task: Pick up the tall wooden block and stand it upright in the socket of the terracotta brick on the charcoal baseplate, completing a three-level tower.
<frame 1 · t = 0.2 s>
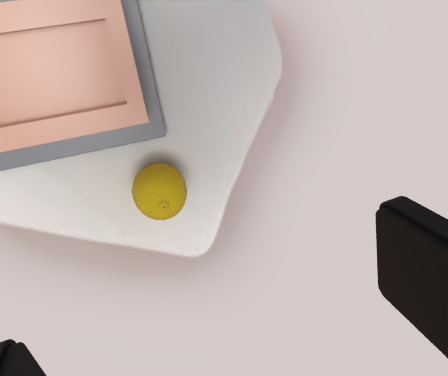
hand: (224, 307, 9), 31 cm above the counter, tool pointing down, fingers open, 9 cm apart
baseplate: (53, 71, 33), on the counter
lemon: (156, 177, 40), on the counter
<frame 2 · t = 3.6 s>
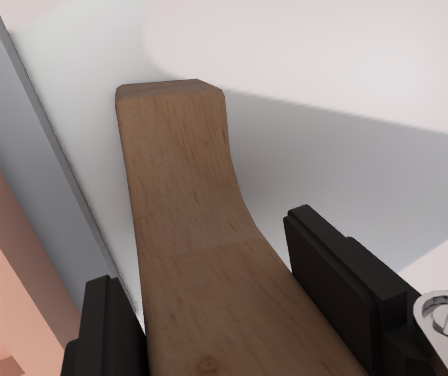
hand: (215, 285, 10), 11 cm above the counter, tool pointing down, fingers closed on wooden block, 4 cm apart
wooden block: (168, 162, 20), on the counter, touching gripper
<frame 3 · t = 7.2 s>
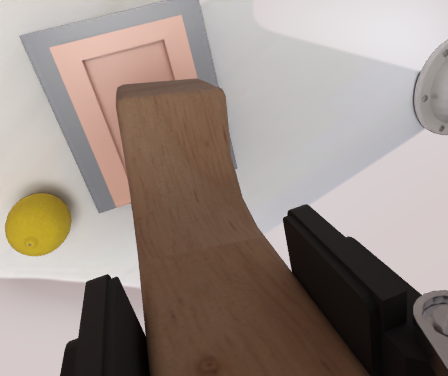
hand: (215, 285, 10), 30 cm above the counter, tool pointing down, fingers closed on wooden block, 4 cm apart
baseplate: (143, 109, 36), on the counter
lemon: (47, 205, 37), on the counter
wooden block: (169, 162, 20), point 18 cm above the counter, touching gripper
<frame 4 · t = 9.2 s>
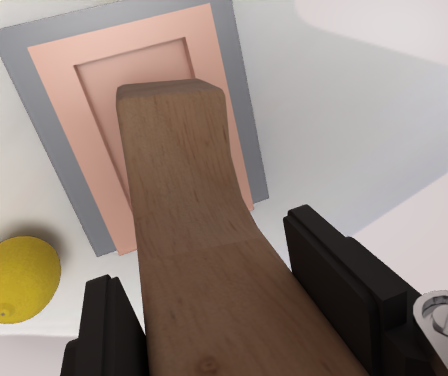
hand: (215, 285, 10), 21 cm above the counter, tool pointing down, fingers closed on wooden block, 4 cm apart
baseplate: (153, 126, 28), on the counter
lemon: (32, 247, 29), on the counter
wooden block: (169, 162, 20), point 10 cm above the counter, touching gripper
when the fingers open (16 cm above the counter, at t = 10.7 s): wooden block drops 2 cm, resting on baseplate.
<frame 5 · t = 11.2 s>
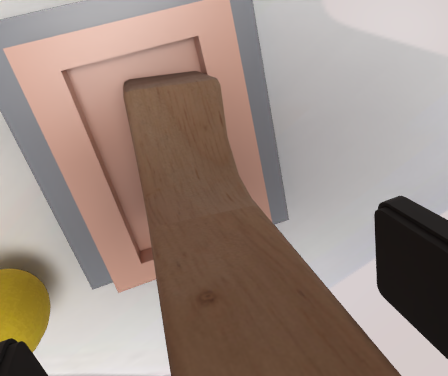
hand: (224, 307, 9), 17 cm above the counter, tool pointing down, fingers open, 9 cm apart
baseplate: (158, 139, 24), on the counter
lemon: (17, 278, 26), on the counter
wooden block: (174, 149, 21), point 3 cm above the counter, touching baseplate
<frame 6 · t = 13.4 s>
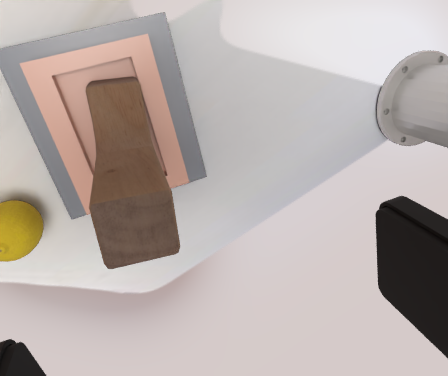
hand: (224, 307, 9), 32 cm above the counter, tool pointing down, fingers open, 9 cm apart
baseplate: (114, 120, 38), on the counter
lemon: (21, 211, 38), on the counter
wooden block: (121, 124, 35), point 3 cm above the counter, touching baseplate
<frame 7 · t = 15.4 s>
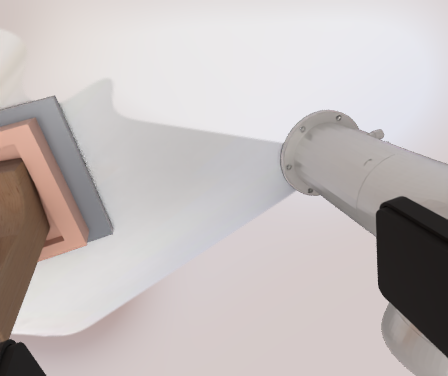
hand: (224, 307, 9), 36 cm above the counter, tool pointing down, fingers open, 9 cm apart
baseplate: (19, 188, 41), on the counter
wooden block: (18, 197, 38), point 3 cm above the counter, touching baseplate
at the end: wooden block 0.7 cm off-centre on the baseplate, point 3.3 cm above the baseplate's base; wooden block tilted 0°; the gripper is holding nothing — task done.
